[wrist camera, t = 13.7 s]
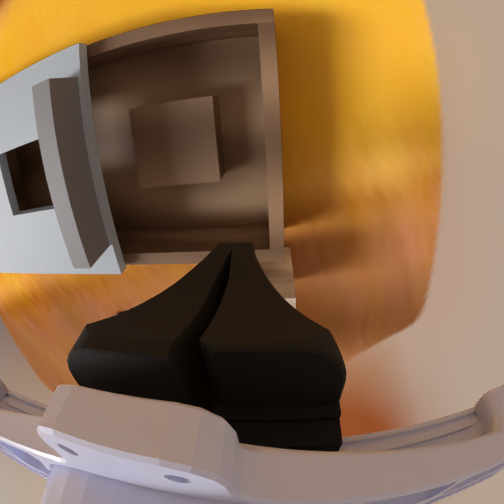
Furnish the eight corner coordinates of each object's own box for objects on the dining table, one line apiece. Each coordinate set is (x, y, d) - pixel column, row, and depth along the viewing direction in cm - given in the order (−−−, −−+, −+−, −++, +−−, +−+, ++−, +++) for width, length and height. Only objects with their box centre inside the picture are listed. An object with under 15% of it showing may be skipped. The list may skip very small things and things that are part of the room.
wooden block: (289, 280, 23) (294, 335, 18) (251, 281, 24) (246, 335, 18) (290, 246, 22) (296, 298, 17) (249, 248, 22) (243, 299, 17)
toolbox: (281, 229, 21) (284, 261, 17) (41, 241, 23) (14, 265, 19) (271, 27, 14) (273, 8, 11) (9, 98, 16) (-26, 106, 12)
